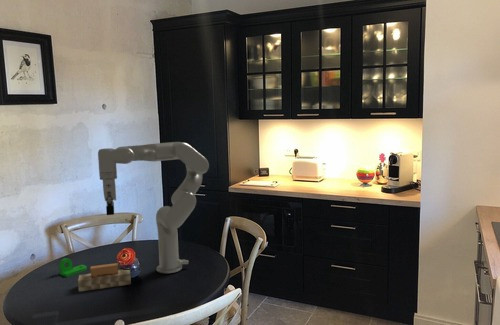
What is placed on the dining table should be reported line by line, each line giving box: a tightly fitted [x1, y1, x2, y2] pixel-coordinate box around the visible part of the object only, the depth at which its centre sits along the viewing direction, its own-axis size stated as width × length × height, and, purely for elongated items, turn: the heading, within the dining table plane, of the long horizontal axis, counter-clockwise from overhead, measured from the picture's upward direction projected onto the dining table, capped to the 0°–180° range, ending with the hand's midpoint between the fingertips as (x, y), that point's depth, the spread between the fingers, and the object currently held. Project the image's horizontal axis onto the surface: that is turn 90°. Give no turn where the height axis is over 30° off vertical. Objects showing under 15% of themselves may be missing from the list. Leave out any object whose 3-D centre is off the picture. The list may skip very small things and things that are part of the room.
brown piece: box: [89, 262, 119, 277], centre depth 188 cm, size 12×3×8 cm, turn 109°
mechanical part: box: [58, 257, 88, 278], centre depth 204 cm, size 12×6×8 cm, turn 145°
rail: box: [77, 268, 132, 292], centre depth 188 cm, size 22×7×5 cm, turn 108°
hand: (110, 212), depth 190 cm, fingers open, 9 cm apart
